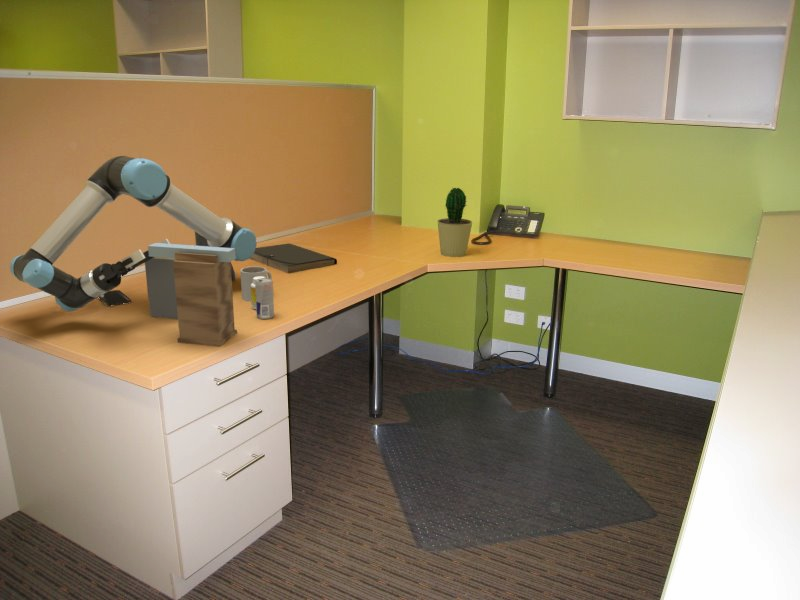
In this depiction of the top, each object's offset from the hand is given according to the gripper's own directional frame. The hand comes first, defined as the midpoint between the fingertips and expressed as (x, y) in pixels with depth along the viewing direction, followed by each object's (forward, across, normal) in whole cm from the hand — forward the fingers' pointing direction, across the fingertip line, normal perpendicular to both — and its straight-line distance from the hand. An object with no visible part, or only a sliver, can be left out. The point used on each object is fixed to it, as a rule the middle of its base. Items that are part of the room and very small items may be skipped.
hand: (156, 248), depth 182 cm
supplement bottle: (+2, -30, -31) cm, 43 cm away
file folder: (-9, -90, -25) cm, 94 cm away
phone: (-42, -25, -6) cm, 50 cm away
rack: (-1, -1, -29) cm, 29 cm away
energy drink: (+6, -22, -34) cm, 40 cm away
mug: (-3, -41, -28) cm, 50 cm away
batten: (+8, -1, -7) cm, 11 cm away
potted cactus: (+47, -122, -57) cm, 143 cm away
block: (-18, -17, -19) cm, 32 cm away
